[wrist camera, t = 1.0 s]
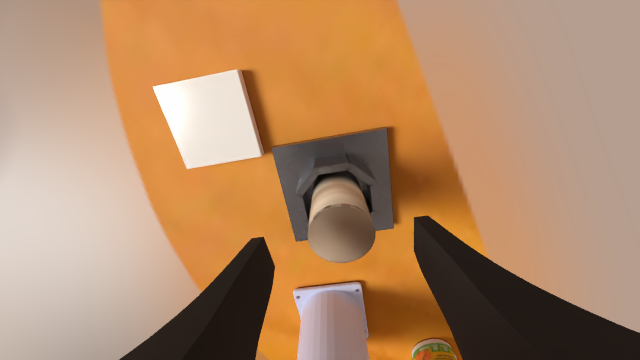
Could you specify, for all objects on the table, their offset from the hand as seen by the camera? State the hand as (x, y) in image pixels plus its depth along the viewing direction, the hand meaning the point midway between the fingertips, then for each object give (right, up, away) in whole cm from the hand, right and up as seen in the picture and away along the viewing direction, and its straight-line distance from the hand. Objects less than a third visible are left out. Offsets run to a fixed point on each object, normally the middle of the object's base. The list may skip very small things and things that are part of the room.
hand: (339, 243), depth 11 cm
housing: (+1, +2, +11) cm, 11 cm away
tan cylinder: (+1, +2, +10) cm, 11 cm away
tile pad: (-10, +8, +9) cm, 16 cm away
